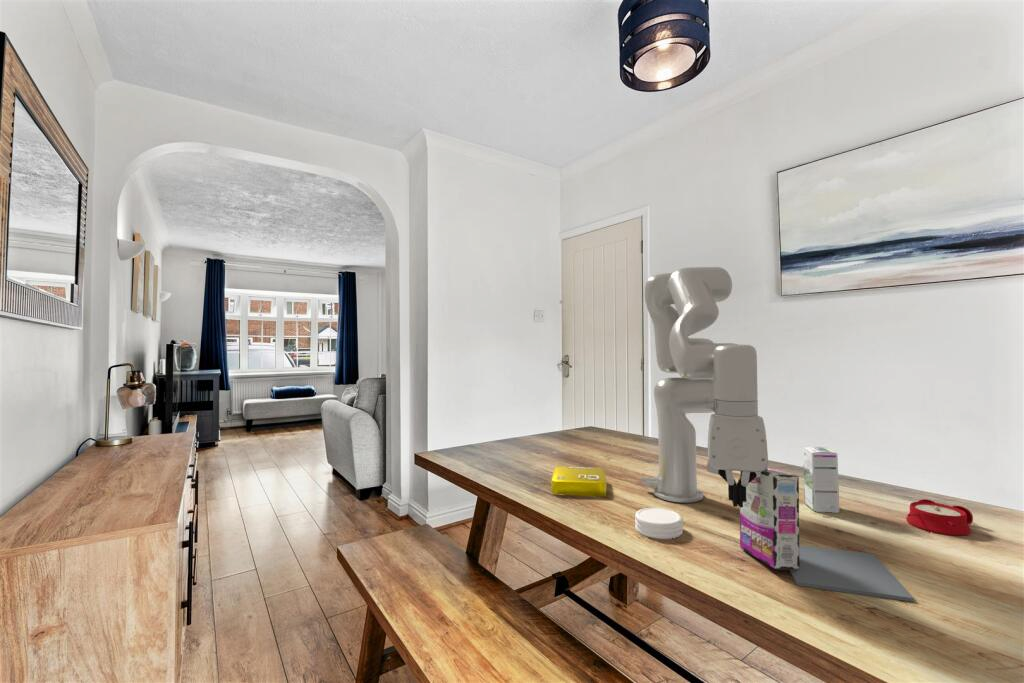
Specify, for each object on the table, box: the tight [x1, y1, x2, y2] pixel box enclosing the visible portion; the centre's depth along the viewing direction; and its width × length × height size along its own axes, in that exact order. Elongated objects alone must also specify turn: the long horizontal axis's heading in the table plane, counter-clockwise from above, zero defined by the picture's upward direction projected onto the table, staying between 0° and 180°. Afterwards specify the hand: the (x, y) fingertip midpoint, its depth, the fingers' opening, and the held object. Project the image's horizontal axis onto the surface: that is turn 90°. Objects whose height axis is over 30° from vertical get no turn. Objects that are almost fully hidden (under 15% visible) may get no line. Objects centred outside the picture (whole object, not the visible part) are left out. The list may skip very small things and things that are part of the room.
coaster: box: [634, 507, 684, 540], centre depth 102 cm, size 10×10×4 cm
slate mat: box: [789, 544, 915, 603], centre depth 83 cm, size 16×16×1 cm
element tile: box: [550, 466, 607, 498], centre depth 132 cm, size 15×15×5 cm
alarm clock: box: [905, 498, 974, 536], centre depth 102 cm, size 10×6×15 cm
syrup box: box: [802, 446, 840, 514], centre depth 113 cm, size 6×6×14 cm
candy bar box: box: [739, 467, 800, 571], centre depth 87 cm, size 11×5×16 cm, turn 5°
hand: (737, 504), depth 88 cm, fingers closed
